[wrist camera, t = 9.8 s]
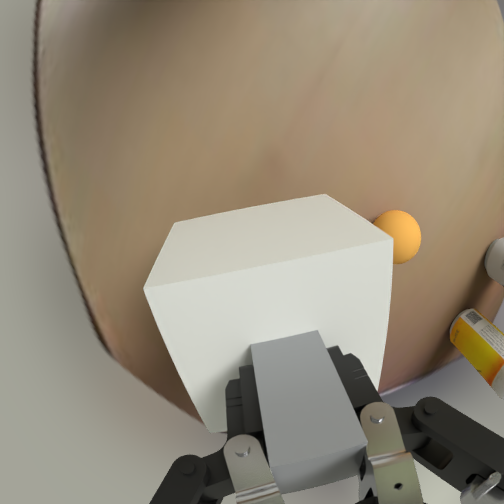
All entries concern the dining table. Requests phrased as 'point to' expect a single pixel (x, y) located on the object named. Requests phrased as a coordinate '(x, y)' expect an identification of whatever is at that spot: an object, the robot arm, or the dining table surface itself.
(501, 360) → the yellow white cylinder
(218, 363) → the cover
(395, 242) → the ball
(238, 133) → the dining table surface
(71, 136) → the dining table surface
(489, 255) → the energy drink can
